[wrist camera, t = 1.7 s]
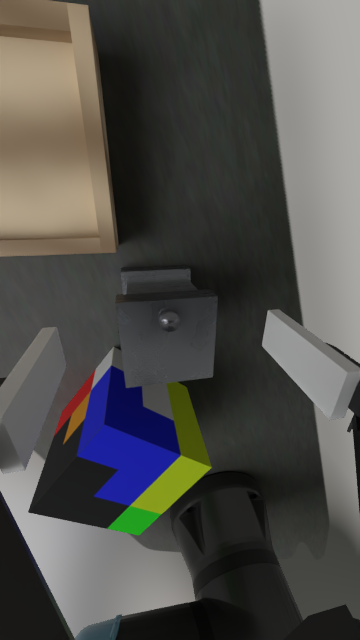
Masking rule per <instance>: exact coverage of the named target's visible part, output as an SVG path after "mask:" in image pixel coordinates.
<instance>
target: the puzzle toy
mask: <svg viewBox="0 0 360 640" xmlns="http://www.w3.org/2000/svg"><path fill="white" fill-rule="evenodd" d="M211 468H212V467H211V464H210V460H209V457H208V454H207V451H206V448H205V444H204V441H203V438H202V435H201V432H200V428H199V425H198V422H197V419H196V416H195V412H194V409H193V406H192V403H191V400H190V396H189V393H188V390H187V387H185V386H184V385H182V384H180V383H178V382H171V383H162V384H154V385H146V386H138V387H130V388H126V384H125V376H124V369H123V361H122V353H121V350H119V349H117V348H115V347H113V348H112V349H111V351H110V352H109V353H108V355H107V356H106V357H105V358H104V360H103V361H102V362H101V363H100V365H99V366H98V367H97V368H96V370H95V371H94V372H93V374H92V375H91V376H90V377H89V379H88V380H87V381H86V382H85V384H84V385H83V386H82V387H81V389H80V390H79V391H78V392H77V394H76V395H75V396H74V398H73V399H72V400H71V401H70V403H69V404H68V405H67V406H66V408H65V409H64V410H63V411H62V414H61V417H60V420H59V423H58V426H57V429H56V432H55V435H54V438H53V441H52V444H51V447H50V450H49V452H48V455H47V458H46V461H45V464H44V467H43V470H42V473H41V476H40V479H39V482H38V485H37V488H36V491H35V494H34V497H33V500H32V503H31V505H30V509H29V511H28V512H29V513H34V514H39V515H44V516H48V517H54V518H58V519H63V520H68V521H72V522H77V523H82V524H87V525H92V526H97V527H101V528H107V529H111V530H116V531H121V532H126V533H130V534H135V535H140V534H141V533H142V532H143V531H144V530H145V529H146V528H147V527H148V526H150V525H151V524H152V523H153V522H154V521H155V520H156V519H157V518H158V517H159V516H160V515H161V514H162V513H163V512H165V511H166V510H167V509H168V508H169V507H170V506H171V505H172V504H173V503H174V502H175V501H176V500H177V499H178V498H180V497H181V496H182V495H183V494H184V493H185V492H186V491H187V490H188V489H189V488H190V487H191V486H192V485H194V484H195V483H196V482H197V481H198V480H199V479H200V478H201V477H202V476H203V475H204V474H205V473H206V472H207V471H209V470H210V469H211Z"/></svg>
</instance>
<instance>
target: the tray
mask: <svg viewBox="0 0 360 640" xmlns="http://www.w3.org/2000/svg"><path fill="white" fill-rule="evenodd" d="M118 246H119V243H118V233H117V224H116V215H115V206H114V196H113V187H112V178H111V169H110V159H109V150H108V141H107V132H106V123H105V113H104V104H103V95H102V86H101V76H100V67H99V58H98V50H97V46H96V41H95V36H94V32H93V27H92V22H91V18H90V13H89V8H88V5H81V4H73V3H65V2H57V1H49V0H0V256H29V255H58V254H87V253H116V251H117V249H118Z"/></svg>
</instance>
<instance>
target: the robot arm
mask: <svg viewBox="0 0 360 640" xmlns="http://www.w3.org/2000/svg"><path fill="white" fill-rule="evenodd" d="M262 346H263V347H264V349H265V350H266V351H267V352H268V353H269V354H270V355H271V356H272V357H273V358H274V359H275V361H276V362H277V363H278V364H279V365H280V366H281V367H282V368H283V369H284V370H285V372H286V373H287V374H288V375H289V376H290V377H291V378H292V379H293V380H294V381H295V382H296V384H297V385H298V386H299V387H300V388H301V389H302V390H303V391H304V392H305V393H306V394H307V396H308V397H309V398H310V399H311V400H312V401H313V402H314V403H315V404H316V405H317V406H318V408H319V409H320V410H321V411H322V412H323V413H324V414H325V415H326V416H327V417H328V419H330V420H333V419H339V418H344V416H345V415H346V412H347V410H348V408H349V409H350V410H351V411H353V412H354V416H353V418H352V421H351V423H350V425H349V427H348V430H347V431H348V432H350V431H351V429H353V437H354V449H355V461H356V473H357V486H358V498H359V511H360V364H359V363H358V362H356V361H355V360H354V359H352V358H350V357H349V356H348V355H346V354H344V352H342V351H341V350H339V349H338V348H336V347H334V346H332V345H330V344H328V343H325V342H323V341H322V340H320V339H319V338H318V337H316V336H315V335H313V334H312V333H311V332H309V331H308V330H307V329H305V328H304V327H302V326H301V325H300V324H298V323H297V322H295V321H294V320H293V319H291V318H290V317H289V316H287V315H286V314H284V313H283V312H282V311H280V310H279V309H277V310H268V313H267V319H266V325H265V330H264V336H263V342H262ZM66 367H67V365H66V361H65V357H64V353H63V349H62V345H61V342H60V338H59V334H58V330H57V327H49V328H42V329H41V331H40V332H39V334H38V335H37V336H36V338H35V339H34V341H33V342H32V343H31V345H30V346H29V348H28V349H27V350H26V352H25V353H24V354H23V356H22V357H21V359H20V360H19V361H18V363H17V364H16V366H15V367H14V368H13V370H12V371H11V373H10V374H9V375H8V377H7V378H0V469H1V471H2V473H3V474H6V473H11V472H18V471H23V470H25V469H26V467H27V464H28V462H29V459H30V456H31V454H32V452H33V449H34V447H35V444H36V442H37V439H38V437H39V434H40V432H41V429H42V427H43V424H44V422H45V419H46V417H47V414H48V412H49V409H50V407H51V404H52V402H53V399H54V397H55V394H56V392H57V389H58V387H59V384H60V382H61V379H62V377H63V374H64V372H65V369H66ZM170 517H171V524H172V530H173V534H174V536H175V538H176V541H177V543H178V546H179V548H180V550H181V553H182V555H183V557H184V560H185V562H186V565H187V567H188V569H189V572H190V574H191V577H192V581H193V588H194V594H195V600H196V601H194V602H190V603H184V604H178V605H174V606H169V607H164V608H159V609H154V610H150V611H145V612H140V613H135V614H130V615H126V616H122V615H117V616H116V618H114V619H111V620H107V621H103V622H100V623H96V624H93V625H89V626H87V627H86V628H84V629H83V630H81V631H80V633H79V634H78V635H77V636H76V638H75V639H74V637H73V635H72V633H71V631H70V629H69V627H68V625H67V623H66V621H65V619H64V617H63V615H62V613H61V611H60V609H59V607H58V605H57V603H56V601H55V599H54V597H53V595H52V593H51V591H50V589H49V587H48V585H47V583H46V581H45V579H44V577H43V575H42V573H41V571H40V569H39V567H38V565H37V563H36V561H35V559H34V557H33V555H32V553H31V551H30V549H29V547H28V545H27V543H26V541H25V539H24V537H23V535H22V533H21V531H20V529H19V527H18V525H17V523H16V521H15V519H14V517H13V515H12V513H11V511H10V509H9V507H8V505H7V503H6V501H5V499H4V497H3V495H2V493H1V492H0V640H360V620H358V619H355V618H353V617H352V615H351V613H350V612H349V610H348V608H347V606H346V605H342V606H339V607H336V608H333V609H330V610H326V611H323V612H320V613H316V614H313V615H310V616H308V617H307V618H306V619H305V620H304V621H303V619H302V616H301V614H300V611H299V609H298V607H297V604H296V602H295V600H294V597H293V595H292V592H291V590H290V588H289V585H288V583H287V581H286V578H285V576H284V574H283V571H282V569H281V567H280V565H279V562H278V560H277V557H276V555H275V552H274V550H273V546H272V541H271V535H270V529H269V523H268V517H267V511H266V505H265V500H264V497H263V495H262V492H261V490H260V488H259V486H258V484H257V482H256V481H255V480H254V479H253V478H252V477H250V476H248V475H246V474H242V473H236V472H226V473H219V474H214V475H211V476H207V477H205V478H202V479H200V480H198V481H197V482H196V483H195V484H194V485H192V486H191V487H190V488H189V489H188V490H187V491H186V492H185V493H184V494H183V495H182V496H181V497H180V498H178V499H177V500H176V501H175V502H174V503H173V504H172V505H171V508H170Z"/></svg>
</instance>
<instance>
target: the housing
mask: <svg viewBox="0 0 360 640" xmlns="http://www.w3.org/2000/svg"><path fill="white" fill-rule="evenodd" d="M190 275H191V269H190V268H189V267H188V266H187V265H180V266H158V267H136V268H121V280H122V289H123V294H121V295H117V296H116V302H115V305H116V313H117V321H118V329H119V337H120V345H121V353H122V361H123V369H124V376H125V384H126V388H130V387H138V386H146V385H154V384H162V383H171V382H179V381H187V380H195V379H203V378H211V377H213V368H214V352H215V337H216V321H217V305H218V296H217V295H216V294H215V293H214V292H213V291H212V290H211V289H202V290H197V289H196V287H195V286H194V285H193V284H192V283H191V281H190Z"/></svg>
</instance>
